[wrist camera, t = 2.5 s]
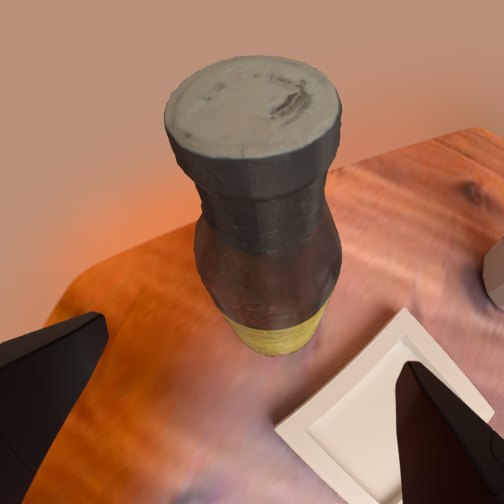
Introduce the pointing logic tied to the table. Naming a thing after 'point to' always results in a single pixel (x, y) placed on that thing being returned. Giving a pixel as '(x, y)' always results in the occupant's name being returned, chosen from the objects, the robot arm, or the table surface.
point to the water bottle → (495, 273)
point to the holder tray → (369, 413)
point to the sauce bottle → (261, 193)
